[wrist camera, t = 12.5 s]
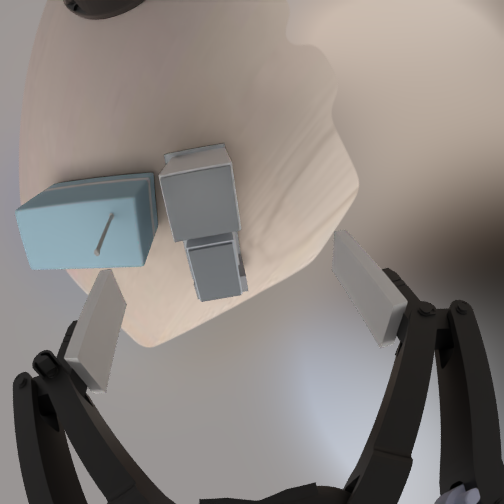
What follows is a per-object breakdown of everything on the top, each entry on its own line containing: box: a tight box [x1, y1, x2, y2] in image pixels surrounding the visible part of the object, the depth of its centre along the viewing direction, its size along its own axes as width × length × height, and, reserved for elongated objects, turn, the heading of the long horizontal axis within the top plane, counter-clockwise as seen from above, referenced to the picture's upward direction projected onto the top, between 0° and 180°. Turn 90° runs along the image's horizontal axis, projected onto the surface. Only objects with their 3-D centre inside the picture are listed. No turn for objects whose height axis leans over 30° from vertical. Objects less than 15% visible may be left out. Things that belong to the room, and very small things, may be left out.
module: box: [186, 232, 243, 302], centre depth 34 cm, size 7×5×8 cm
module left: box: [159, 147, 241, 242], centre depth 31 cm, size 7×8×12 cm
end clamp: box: [194, 254, 248, 299], centre depth 41 cm, size 2×7×6 cm, turn 97°
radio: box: [15, 173, 158, 270], centre depth 28 cm, size 16×9×20 cm, turn 88°
